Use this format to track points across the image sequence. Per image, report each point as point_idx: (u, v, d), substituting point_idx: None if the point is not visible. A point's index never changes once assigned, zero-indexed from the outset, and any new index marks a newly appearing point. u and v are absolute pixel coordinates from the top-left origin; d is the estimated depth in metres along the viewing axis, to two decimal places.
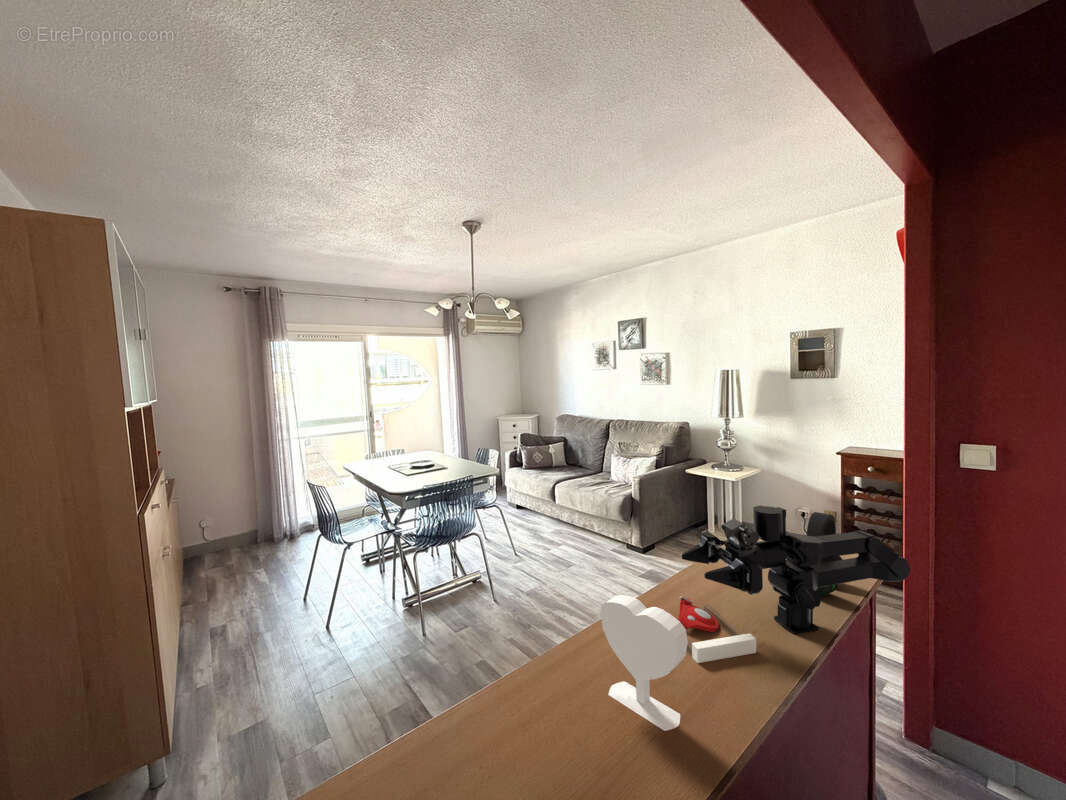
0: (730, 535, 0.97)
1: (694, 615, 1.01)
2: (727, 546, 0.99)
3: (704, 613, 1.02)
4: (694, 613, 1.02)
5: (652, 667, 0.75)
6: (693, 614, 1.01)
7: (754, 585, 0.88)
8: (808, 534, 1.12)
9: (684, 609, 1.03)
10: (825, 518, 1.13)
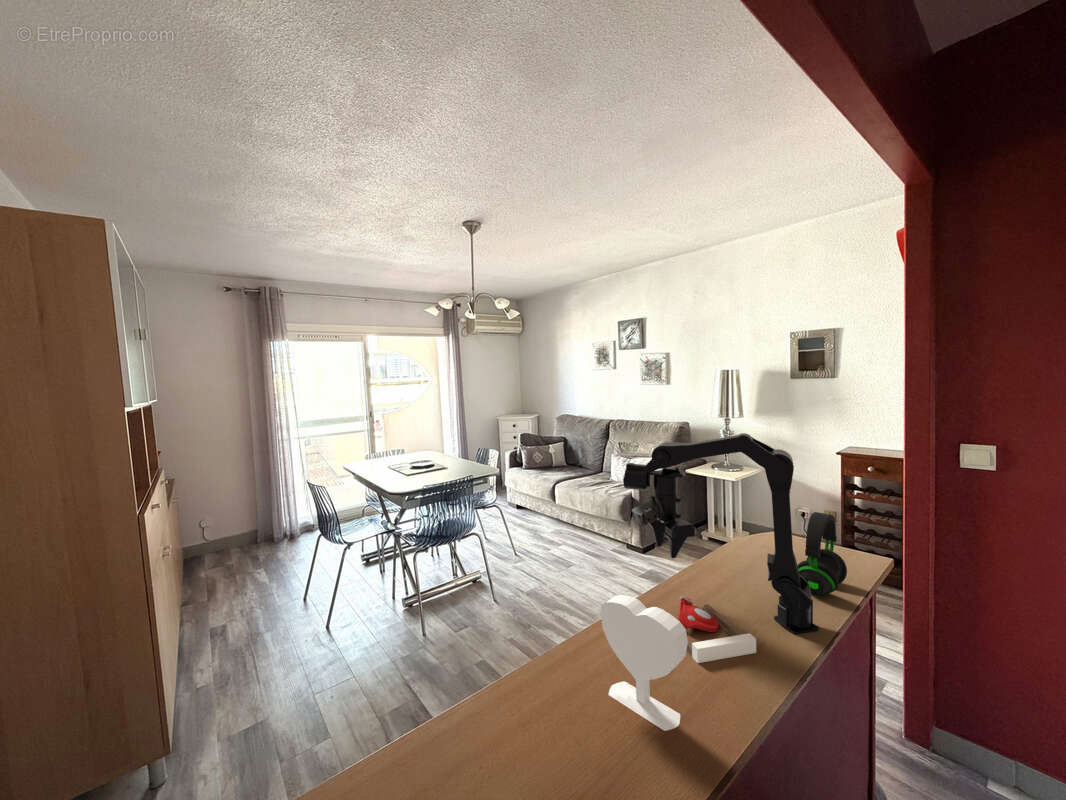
0: None
1: (694, 615, 1.01)
2: None
3: (704, 613, 1.02)
4: (694, 613, 1.02)
5: (652, 667, 0.75)
6: (693, 614, 1.01)
7: (688, 534, 1.05)
8: (808, 534, 1.12)
9: (684, 609, 1.03)
10: (825, 518, 1.13)
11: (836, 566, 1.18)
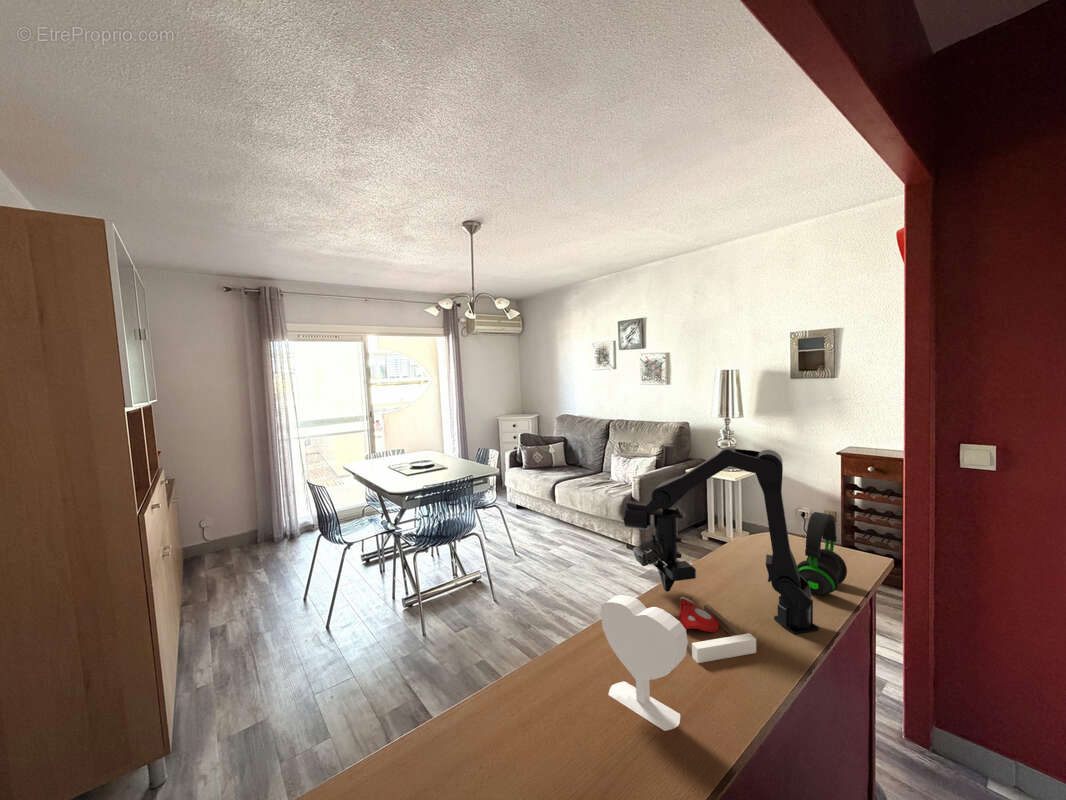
0: None
1: (694, 615, 1.01)
2: None
3: (704, 613, 1.02)
4: (694, 613, 1.02)
5: (652, 667, 0.75)
6: (693, 614, 1.01)
7: (689, 577, 1.05)
8: (808, 534, 1.12)
9: (684, 609, 1.03)
10: (825, 518, 1.13)
11: (836, 566, 1.18)
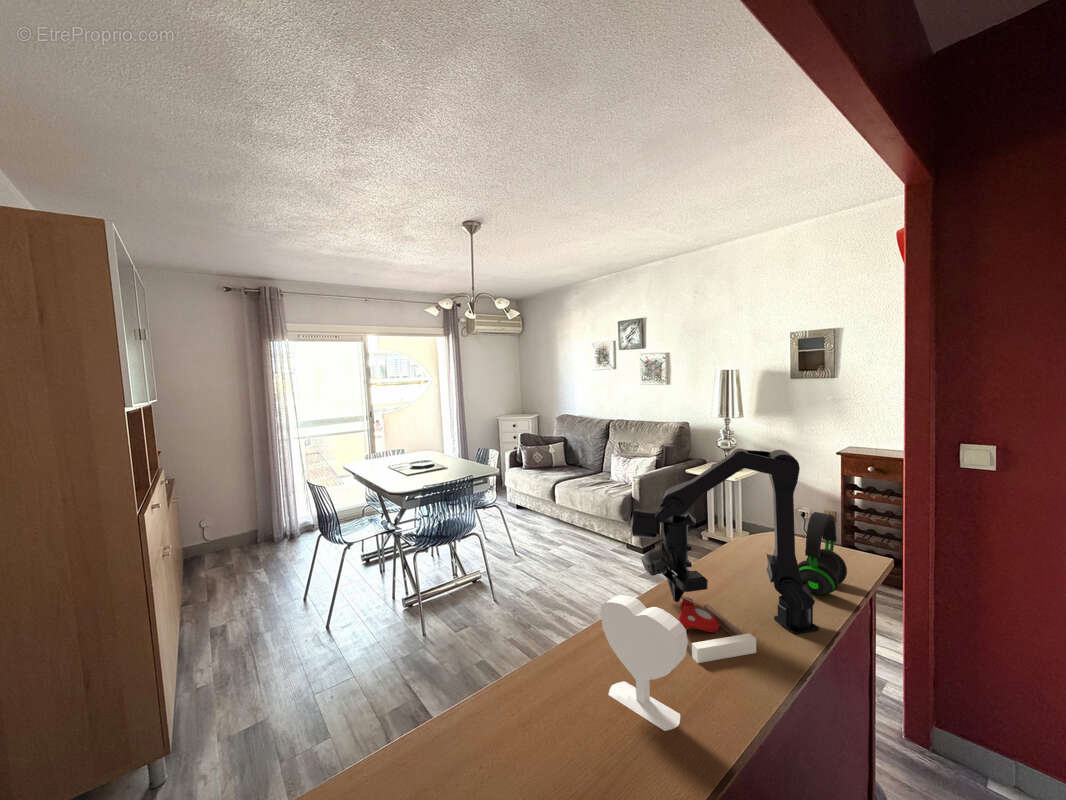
0: None
1: (694, 615, 1.01)
2: None
3: (704, 613, 1.02)
4: (694, 613, 1.01)
5: (652, 667, 0.75)
6: (693, 614, 1.01)
7: (700, 588, 1.01)
8: (808, 534, 1.12)
9: (685, 609, 1.03)
10: (825, 518, 1.13)
11: (836, 566, 1.18)
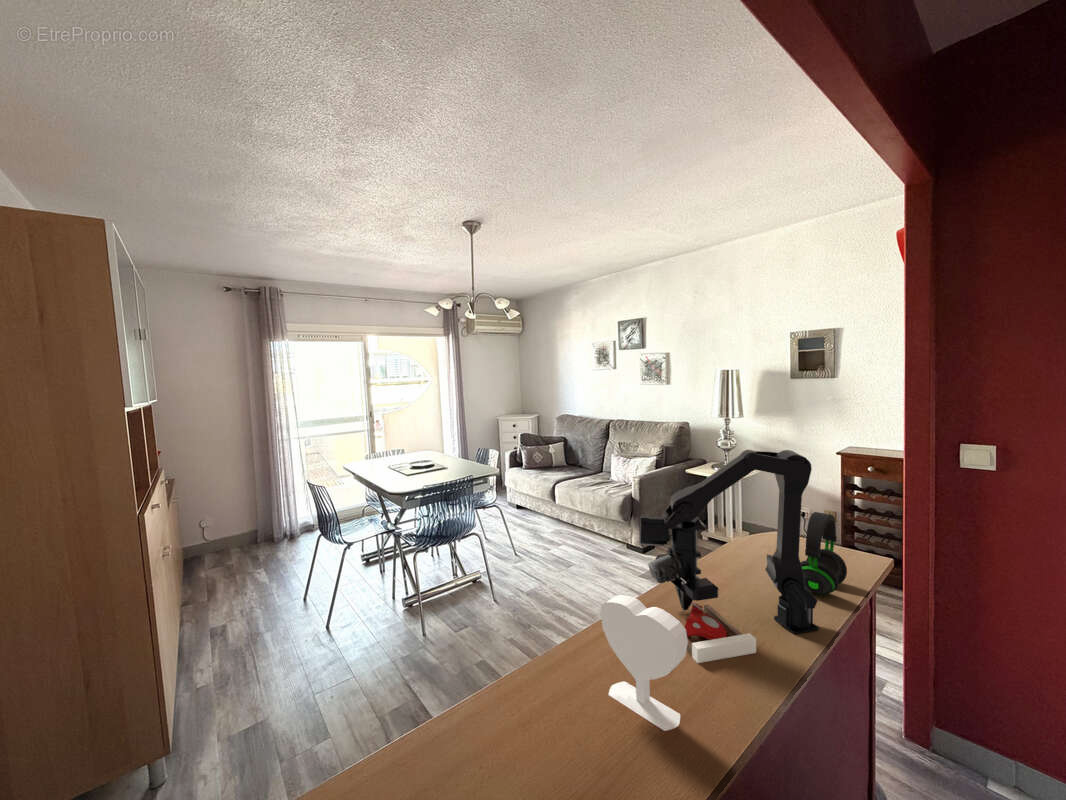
0: None
1: (700, 623, 0.98)
2: None
3: (711, 621, 0.99)
4: (700, 621, 0.99)
5: (652, 667, 0.75)
6: (699, 622, 0.99)
7: (711, 596, 0.97)
8: (808, 534, 1.12)
9: (691, 616, 1.01)
10: (825, 518, 1.13)
11: (836, 566, 1.18)
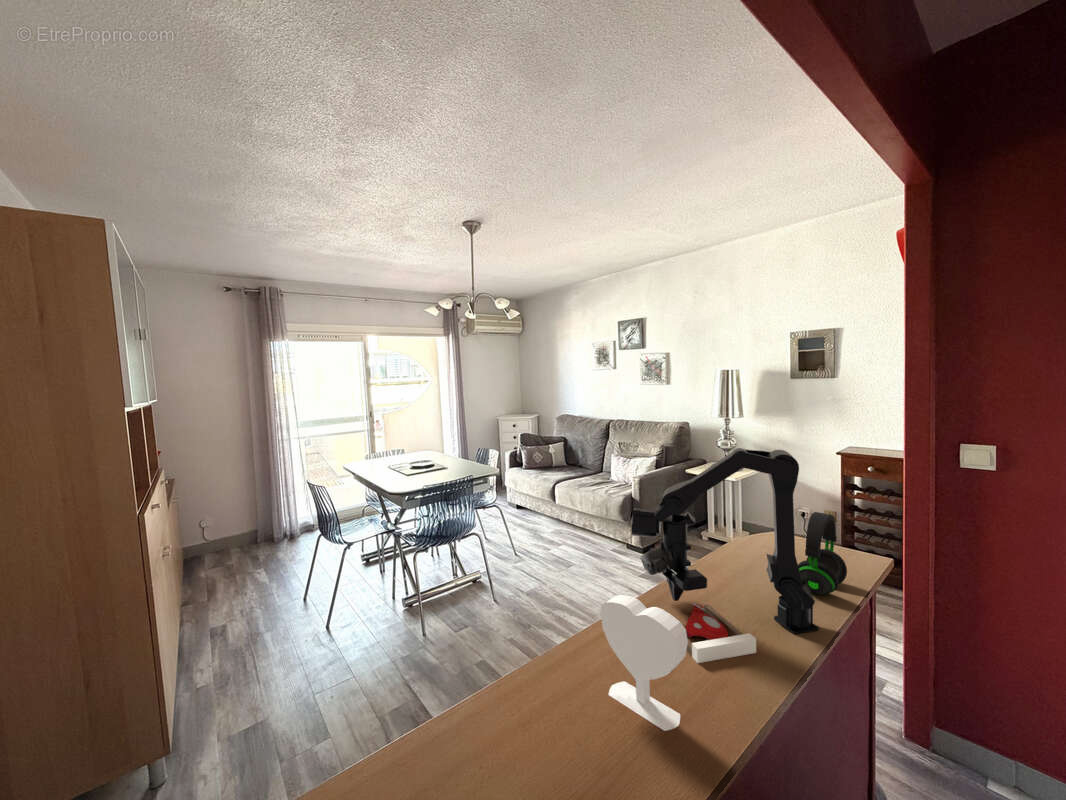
0: None
1: (701, 623, 0.98)
2: None
3: (712, 621, 0.99)
4: (702, 621, 0.98)
5: (652, 667, 0.75)
6: (700, 622, 0.98)
7: (700, 586, 1.01)
8: (808, 534, 1.12)
9: (692, 616, 1.00)
10: (825, 518, 1.13)
11: (836, 566, 1.18)
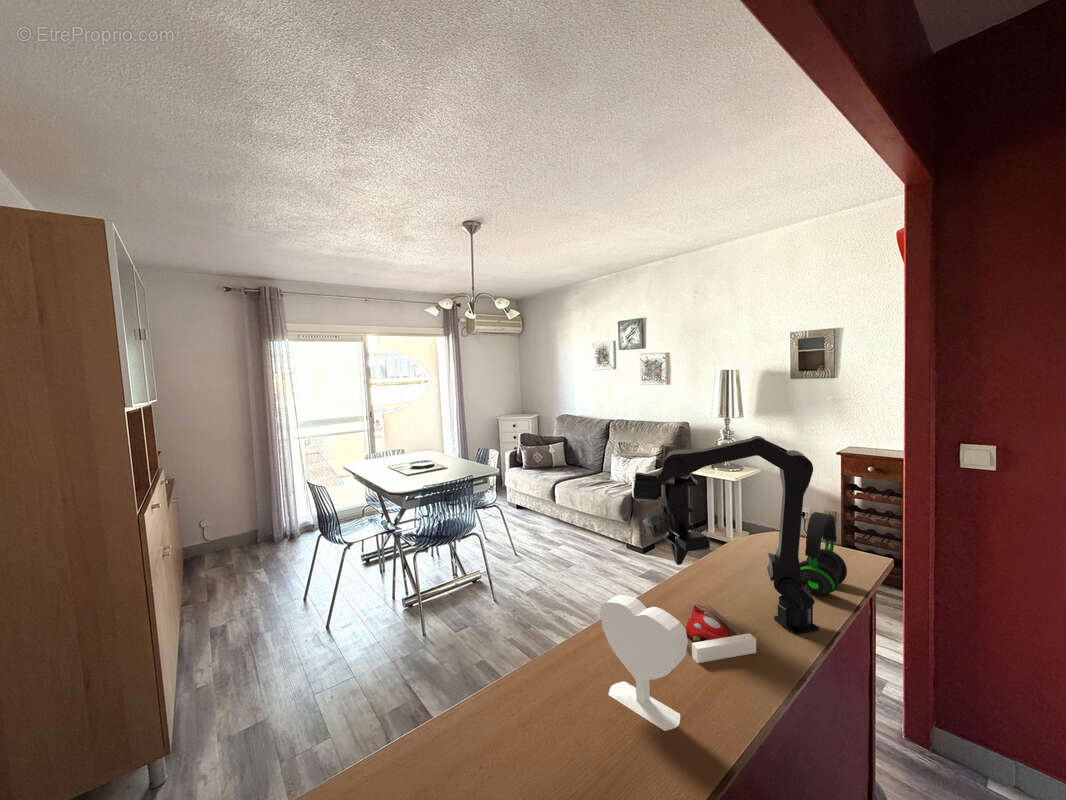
0: None
1: (702, 623, 0.98)
2: None
3: (713, 622, 0.99)
4: (702, 621, 0.98)
5: (652, 667, 0.75)
6: (701, 622, 0.98)
7: (703, 547, 1.00)
8: (808, 534, 1.12)
9: (692, 616, 1.00)
10: (825, 518, 1.13)
11: (836, 566, 1.18)
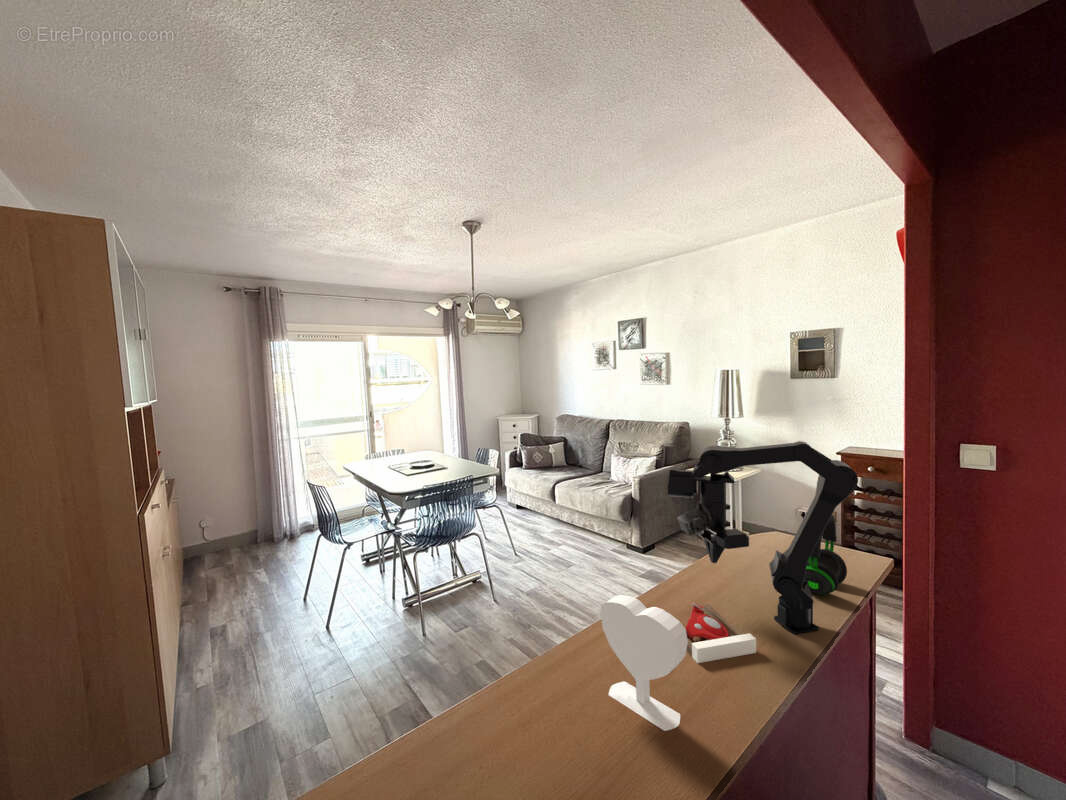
0: None
1: (702, 623, 0.98)
2: None
3: (713, 622, 0.99)
4: (702, 621, 0.98)
5: (652, 667, 0.75)
6: (701, 622, 0.98)
7: (742, 545, 0.98)
8: None
9: (692, 616, 1.00)
10: None
11: (836, 566, 1.18)
